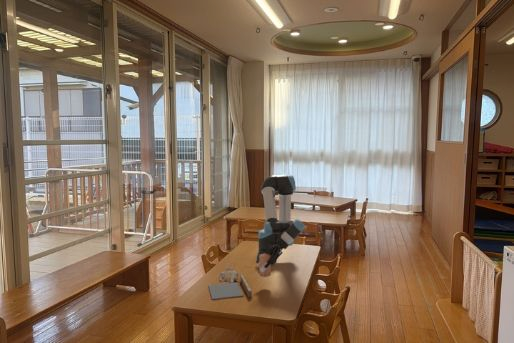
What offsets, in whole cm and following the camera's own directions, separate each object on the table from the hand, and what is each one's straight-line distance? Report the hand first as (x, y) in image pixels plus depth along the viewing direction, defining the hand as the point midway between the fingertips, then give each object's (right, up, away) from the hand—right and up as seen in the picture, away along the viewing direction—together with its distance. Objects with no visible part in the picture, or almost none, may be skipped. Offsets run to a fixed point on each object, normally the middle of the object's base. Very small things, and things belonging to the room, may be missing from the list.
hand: (259, 268), depth 223 cm
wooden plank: (-8, -12, -1) cm, 15 cm away
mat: (-21, -12, -4) cm, 24 cm away
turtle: (-19, -11, +14) cm, 26 cm away
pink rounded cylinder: (+3, -4, +1) cm, 5 cm away
